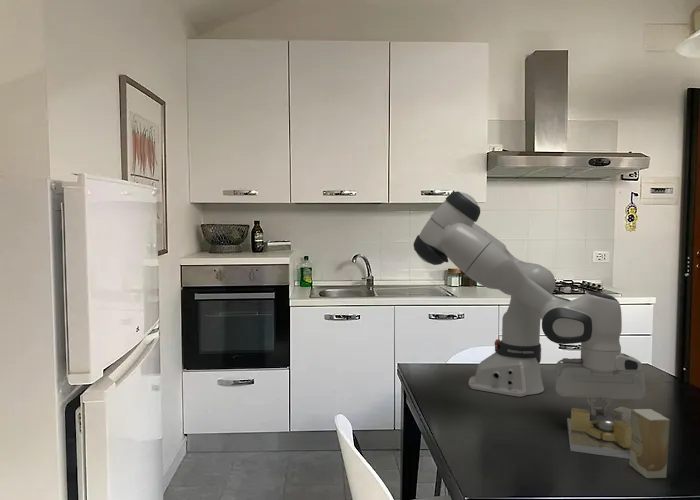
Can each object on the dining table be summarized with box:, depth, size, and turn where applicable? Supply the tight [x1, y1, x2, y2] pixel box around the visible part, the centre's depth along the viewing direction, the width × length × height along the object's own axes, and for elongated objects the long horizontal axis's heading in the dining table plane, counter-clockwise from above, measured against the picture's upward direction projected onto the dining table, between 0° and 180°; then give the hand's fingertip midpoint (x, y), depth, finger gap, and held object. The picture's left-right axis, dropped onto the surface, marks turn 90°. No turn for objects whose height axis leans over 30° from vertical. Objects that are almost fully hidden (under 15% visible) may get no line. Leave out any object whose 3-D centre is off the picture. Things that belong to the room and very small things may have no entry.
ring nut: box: [570, 406, 632, 448], centre depth 127 cm, size 14×15×4 cm
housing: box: [566, 415, 630, 460], centre depth 126 cm, size 17×17×5 cm
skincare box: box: [629, 408, 671, 479], centre depth 111 cm, size 6×4×12 cm
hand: (598, 415), depth 132 cm, fingers closed
